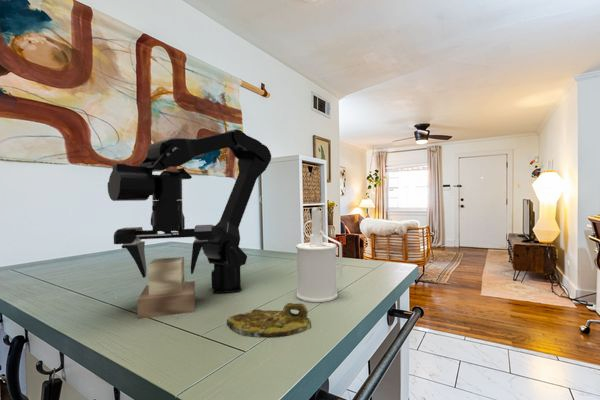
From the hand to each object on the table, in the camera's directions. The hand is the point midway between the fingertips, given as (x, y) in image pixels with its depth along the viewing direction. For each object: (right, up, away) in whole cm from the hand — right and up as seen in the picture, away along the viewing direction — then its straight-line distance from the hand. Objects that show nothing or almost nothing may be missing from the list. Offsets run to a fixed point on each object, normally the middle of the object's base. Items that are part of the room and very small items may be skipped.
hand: (168, 275), depth 63 cm
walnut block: (0, -7, 0) cm, 7 cm away
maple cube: (0, -3, 0) cm, 3 cm away
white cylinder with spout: (+32, -6, +5) cm, 33 cm away
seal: (+22, -7, -10) cm, 25 cm away
